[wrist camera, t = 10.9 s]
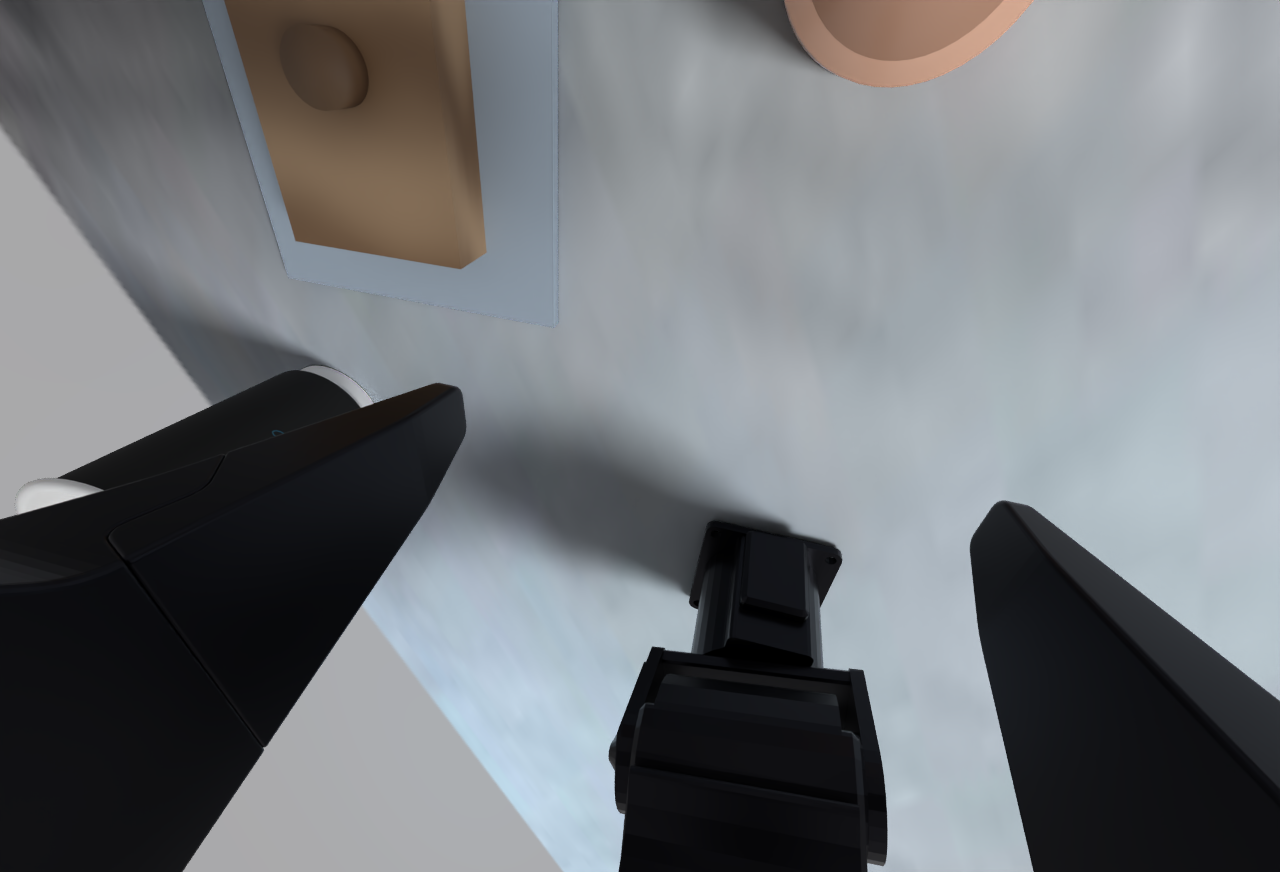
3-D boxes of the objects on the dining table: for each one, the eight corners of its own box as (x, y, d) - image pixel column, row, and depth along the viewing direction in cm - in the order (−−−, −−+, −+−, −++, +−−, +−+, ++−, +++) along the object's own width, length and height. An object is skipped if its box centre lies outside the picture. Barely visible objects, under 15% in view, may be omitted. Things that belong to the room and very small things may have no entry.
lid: (486, 252, 20) (446, 278, 18) (332, 227, 21) (274, 249, 19) (449, -181, 14) (377, -230, 11) (227, -192, 14) (116, -240, 12)
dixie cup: (247, 398, 29) (9, 548, 20) (291, 302, 24) (12, 441, 15) (372, 489, 31) (207, 661, 22) (434, 416, 26) (259, 595, 18)
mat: (558, 323, 22) (553, 328, 21) (296, 274, 23) (288, 278, 23) (557, -321, 12) (550, -334, 12) (114, -334, 14) (94, -346, 13)
